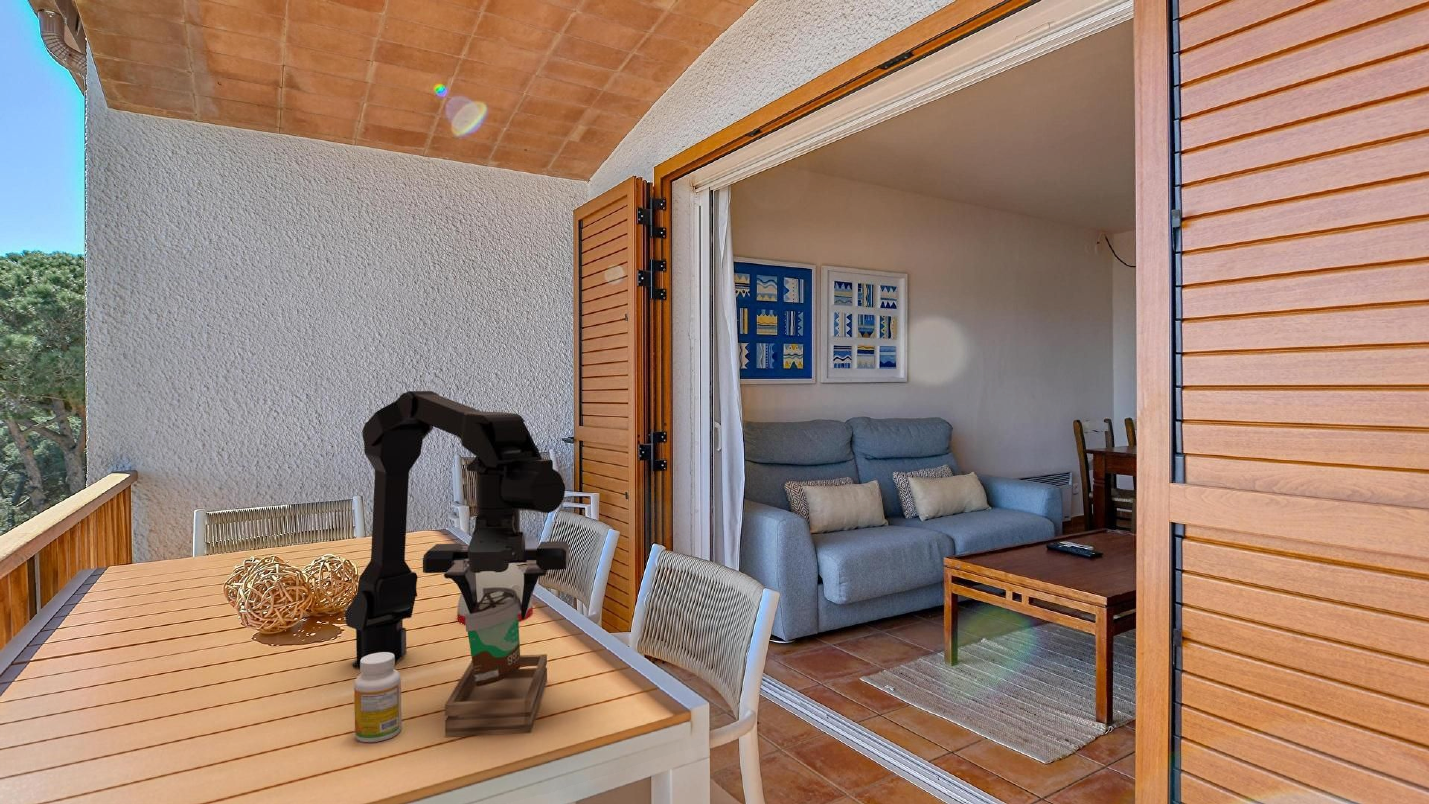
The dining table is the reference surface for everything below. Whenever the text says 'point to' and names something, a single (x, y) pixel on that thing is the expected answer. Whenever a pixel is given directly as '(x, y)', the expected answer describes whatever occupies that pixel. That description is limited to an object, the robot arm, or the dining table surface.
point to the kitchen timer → (489, 579)
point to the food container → (494, 635)
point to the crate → (497, 701)
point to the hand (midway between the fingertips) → (499, 619)
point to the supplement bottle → (377, 698)
